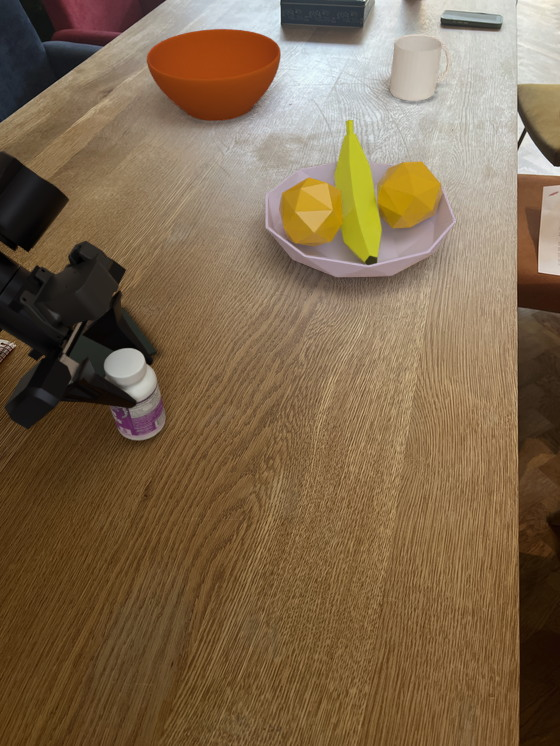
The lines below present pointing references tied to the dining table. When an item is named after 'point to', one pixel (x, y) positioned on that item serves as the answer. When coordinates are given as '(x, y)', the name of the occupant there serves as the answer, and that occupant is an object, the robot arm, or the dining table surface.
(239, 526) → the dining table surface
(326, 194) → the fruit bowl
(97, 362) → the mat
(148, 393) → the pill bottle
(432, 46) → the mug
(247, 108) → the bowl
